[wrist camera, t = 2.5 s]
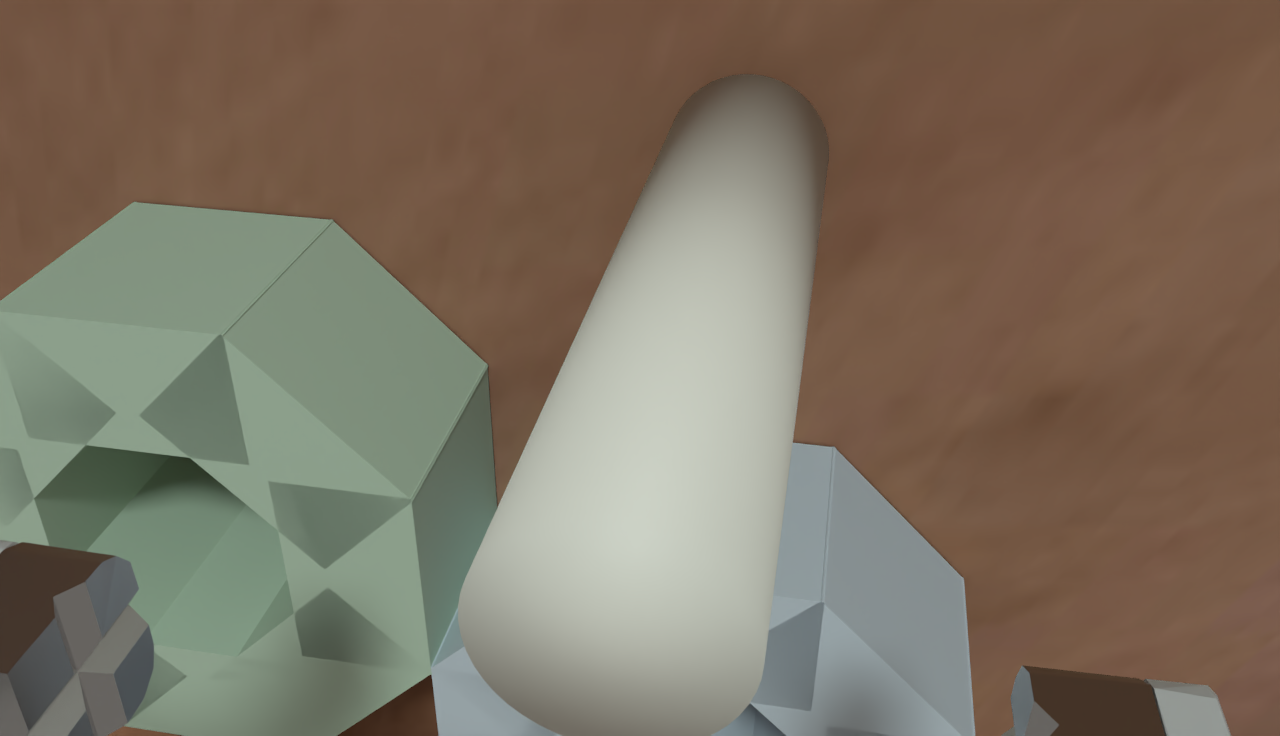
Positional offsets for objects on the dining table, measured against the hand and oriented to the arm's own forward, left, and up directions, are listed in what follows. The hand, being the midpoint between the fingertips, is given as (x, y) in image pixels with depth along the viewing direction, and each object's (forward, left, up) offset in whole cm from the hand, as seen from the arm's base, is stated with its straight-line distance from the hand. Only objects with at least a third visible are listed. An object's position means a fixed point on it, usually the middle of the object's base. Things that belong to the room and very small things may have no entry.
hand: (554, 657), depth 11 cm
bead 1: (+9, +7, -12) cm, 17 cm away
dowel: (-1, 0, -12) cm, 12 cm away
